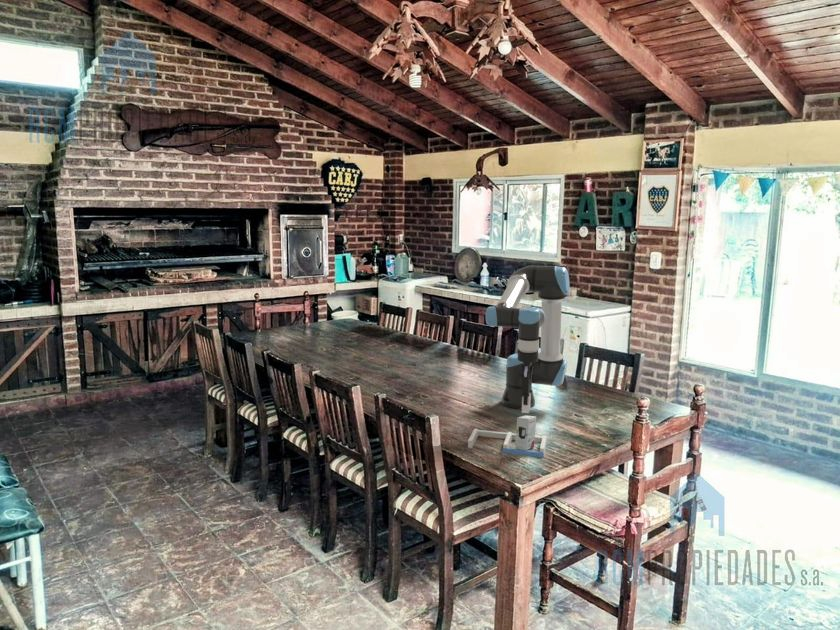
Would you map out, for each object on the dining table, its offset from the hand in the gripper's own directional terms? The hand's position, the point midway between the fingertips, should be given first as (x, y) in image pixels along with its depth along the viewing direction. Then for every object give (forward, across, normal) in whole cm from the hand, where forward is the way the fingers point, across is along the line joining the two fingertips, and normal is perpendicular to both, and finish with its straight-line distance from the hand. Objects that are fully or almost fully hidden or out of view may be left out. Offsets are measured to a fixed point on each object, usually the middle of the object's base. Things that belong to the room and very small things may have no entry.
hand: (525, 410), depth 240 cm
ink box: (+15, 0, 0) cm, 15 cm away
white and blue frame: (+16, -3, -7) cm, 17 cm away
